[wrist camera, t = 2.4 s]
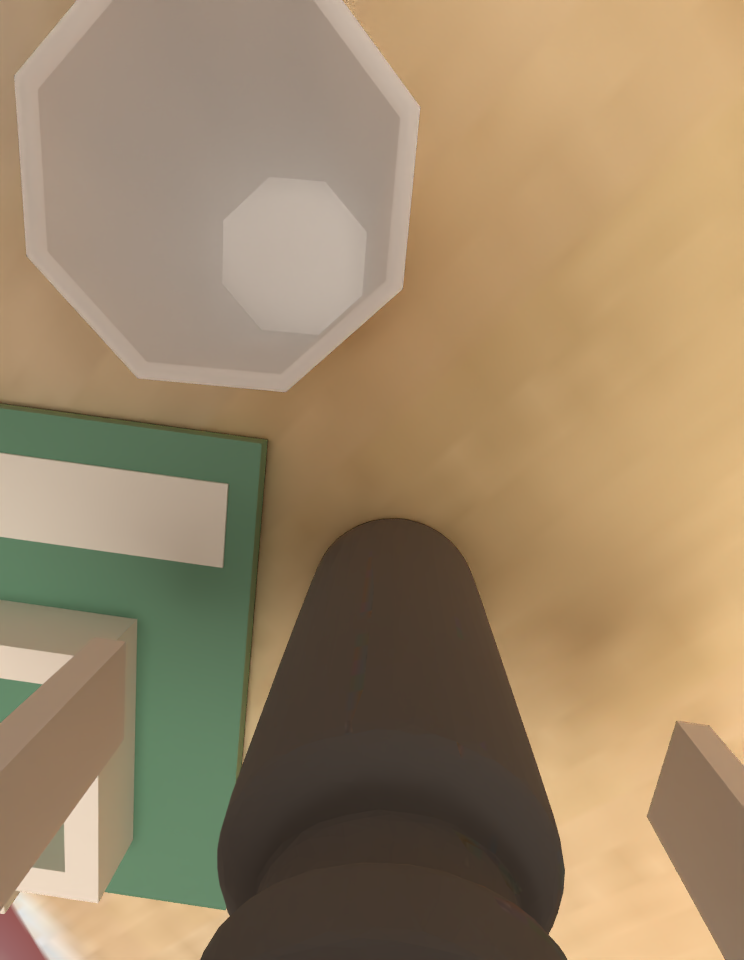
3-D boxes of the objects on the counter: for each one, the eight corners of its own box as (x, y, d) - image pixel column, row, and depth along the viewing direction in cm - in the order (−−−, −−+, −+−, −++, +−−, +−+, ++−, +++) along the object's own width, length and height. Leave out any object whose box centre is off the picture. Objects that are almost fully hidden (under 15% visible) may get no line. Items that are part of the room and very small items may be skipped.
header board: (-133, 385, 18) (-250, 392, 15) (267, 439, 18) (238, 458, 14) (-84, 843, 23) (-163, 924, 19) (231, 890, 22) (203, 980, 19)
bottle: (325, 503, 18) (19, 1133, 3) (490, 532, 18) (887, 1293, 3) (302, 649, 19) (19, 1536, 5) (455, 676, 19) (632, 1653, 5)
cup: (238, 406, 17) (107, 449, 10) (118, 81, 15) (-178, -207, 7) (440, 341, 17) (479, 329, 9) (343, -12, 14) (278, -447, 7)
